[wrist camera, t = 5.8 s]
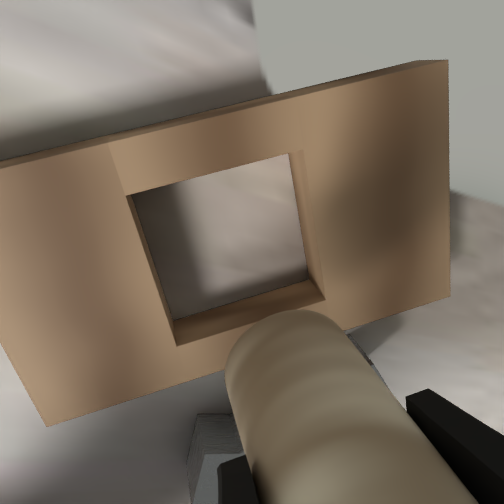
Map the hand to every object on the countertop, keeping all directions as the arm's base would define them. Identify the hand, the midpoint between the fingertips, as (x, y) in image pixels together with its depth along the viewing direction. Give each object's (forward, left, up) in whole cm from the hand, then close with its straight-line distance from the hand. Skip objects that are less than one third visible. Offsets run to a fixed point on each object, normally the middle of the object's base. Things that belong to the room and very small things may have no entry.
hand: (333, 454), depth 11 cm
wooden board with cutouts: (0, +2, -10) cm, 10 cm away
